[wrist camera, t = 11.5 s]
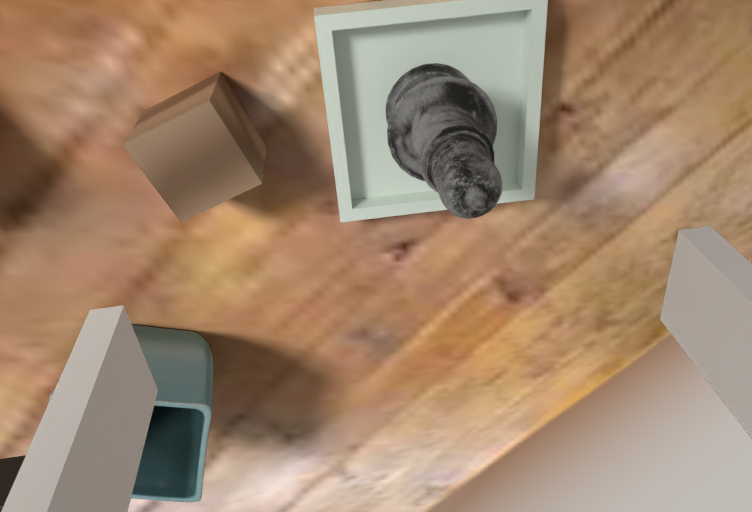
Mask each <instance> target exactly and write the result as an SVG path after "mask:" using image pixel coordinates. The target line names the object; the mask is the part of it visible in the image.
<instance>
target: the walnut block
mask: <svg viewBox="0 0 752 512" xmlns="http://www.w3.org/2000/svg"><path fill="white" fill-rule="evenodd" d="M123 146H124V147H125V149H126V150H127V151H128V153H129V154H130V155H131V157H132V158H133V159H134V161H135V162H136V163H137V165H138V166H139V167H140V169H141V170H142V171H143V173H144V174H145V175H146V177H147V178H148V179H149V181H150V182H151V183H152V185H153V186H154V187H155V189H156V190H157V191H158V193H159V194H160V195H161V196H162V198H163V199H164V200H165V202H166V203H167V204H168V206H169V207H170V208H171V210H172V211H173V212H174V214H175V215H176V216H177V218H178V219H179V220H180V222H183V221H185V220H187V219H189V218H191V217H193V216H195V215H198V214H200V213H202V212H204V211H206V210H208V209H210V208H212V207H214V206H216V205H219V204H221V203H223V202H225V201H227V200H229V199H231V198H233V197H235V196H237V195H240V194H242V193H244V192H246V191H248V190H250V189H252V188H254V187H256V186H259V185H261V184H262V182H263V174H264V166H265V159H266V151H267V146H266V145H265V143H264V142H263V140H262V138H261V137H260V135H259V133H258V132H257V130H256V128H255V127H254V125H253V123H252V122H251V120H250V119H249V117H248V115H247V114H246V112H245V110H244V109H243V107H242V105H241V104H240V102H239V101H238V99H237V97H236V96H235V94H234V92H233V91H232V89H231V87H230V86H229V84H228V82H227V81H226V79H225V78H224V76H223V74H222V73H221V72H219V73H217V74H215V75H213V76H211V77H209V78H207V79H205V80H203V81H201V82H200V83H198V84H196V85H194V86H192V87H190V88H188V89H186V90H184V91H182V92H180V93H178V94H176V95H174V96H172V97H170V98H168V99H166V100H164V101H163V102H161V103H159V104H157V105H155V106H153V107H151V108H149V109H147V110H145V111H144V112H143V113H142V115H141V117H140V118H139V120H138V121H137V123H136V124H135V126H134V128H133V129H132V131H131V132H130V134H129V135H128V137H127V139H126V140H125V142H124V143H123Z"/></svg>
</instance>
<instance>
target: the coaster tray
mask: <svg viewBox="0 0 752 512" xmlns="http://www.w3.org/2000/svg"><path fill="white" fill-rule="evenodd" d="M547 6H548V0H384V1H374V2H365V3H355V4H346V5H336V6H327V7H317V8H314V20H315V27H316V35H317V43H318V51H319V58H320V66H321V74H322V82H323V89H324V97H325V105H326V113H327V120H328V128H329V136H330V144H331V151H332V159H333V167H334V175H335V182H336V190H337V198H338V206H339V214H340V221H341V222H348V221H356V220H365V219H373V218H382V217H390V216H399V215H407V214H415V213H424V212H432V211H441V210H448V209H447V208H446V207H445V206H444V204H443V203H442V201H441V199H440V196H439V194H438V192H436V191H434V190H433V189H432V188H431V187H429V186H428V184H427V183H426V181H421V180H419V179H417V178H414V177H412V176H410V175H409V174H407V173H406V172H405V171H404V170H402V169H401V168H400V167H399V166H398V164H397V163H396V161H395V160H394V159H393V157H392V154H391V151H390V149H389V146H388V137H387V128H388V124H387V121H386V109H385V108H386V103H387V98H388V95H389V93H390V91H391V89H392V87H393V85H394V84H395V83H396V82H397V81H398V80H399V78H400V77H401V76H402V75H404V74H405V73H407V72H408V71H410V70H411V69H413V68H415V67H418V66H421V65H424V64H433V63H439V64H444V65H449V66H451V67H453V68H455V69H457V70H459V71H460V72H461V73H462V74H463V75H464V76H465V77H467V78H468V80H469V81H470V82H472V83H474V84H476V85H477V86H478V87H480V88H481V89H482V90H483V91H484V92H485V93H486V94H487V95H488V97H489V99H490V100H491V102H492V104H493V106H494V108H495V112H496V116H497V135H496V138H495V141H494V144H493V150H494V154H495V155H494V164H495V166H496V167H497V169H498V171H499V172H500V175H501V179H502V193H501V196H500V199H499V201H498V202H497V204H500V203H508V202H517V201H525V200H533V199H535V185H536V170H537V155H538V140H539V125H540V110H541V95H542V80H543V65H544V50H545V35H546V20H547Z"/></svg>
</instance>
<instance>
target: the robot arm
mask: <svg viewBox="0 0 752 512" xmlns="http://www.w3.org/2000/svg"><path fill="white" fill-rule="evenodd" d="M660 320H661V321H662V323H663V324H664V325H665V326H666V328H667V329H668V330H669V332H670V333H671V334H672V336H673V337H674V338H675V339H676V341H677V342H678V343H679V345H680V346H681V347H682V348H683V350H684V351H685V353H686V354H687V355H688V356H689V358H690V359H691V360H692V362H693V363H694V364H695V365H696V367H697V368H698V369H699V371H700V372H701V373H702V375H703V376H704V377H705V379H706V380H707V381H708V383H709V384H710V385H711V386H712V388H713V389H714V390H715V392H716V393H717V394H718V395H719V397H720V398H721V399H722V401H723V402H724V403H725V405H726V406H727V407H728V409H729V410H730V411H731V413H732V414H733V415H734V416H735V418H736V419H737V420H738V422H739V423H740V424H741V426H742V427H743V428H744V429H745V431H746V432H747V433H748V435H749V436H750V437H751V439H752V264H751V263H750V262H749V261H748V260H747V259H746V258H745V257H744V256H743V255H742V254H740V253H739V252H738V251H737V250H736V249H735V248H734V247H733V246H732V245H731V244H730V243H729V242H727V241H726V240H725V239H724V238H723V237H722V236H721V235H720V234H719V233H718V232H717V231H716V230H714V229H713V228H712V227H711V226H704V227H697V228H690V229H682V230H679V233H678V237H677V242H676V246H675V251H674V256H673V260H672V265H671V269H670V274H669V279H668V283H667V288H666V292H665V297H664V302H663V306H662V311H661V315H660ZM157 392H158V389H157V386H156V384H155V381H154V379H153V376H152V374H151V371H150V369H149V366H148V364H147V362H146V359H145V357H144V354H143V352H142V349H141V347H140V344H139V342H138V339H137V337H136V334H135V332H134V330H133V327H132V325H131V322H130V320H129V317H128V315H127V312H126V310H125V307H124V306H117V307H109V308H102V309H95V310H90V311H89V314H88V316H87V318H86V321H85V323H84V325H83V327H82V330H81V332H80V334H79V336H78V339H77V341H76V343H75V345H74V348H73V350H72V352H71V355H70V357H69V359H68V361H67V364H66V366H65V368H64V370H63V373H62V375H61V377H60V379H59V382H58V384H57V386H56V388H55V391H54V393H53V395H52V398H51V400H50V402H49V404H48V407H47V409H46V411H45V413H44V416H43V418H42V420H41V422H40V425H39V427H38V429H37V432H36V434H35V436H34V438H33V441H32V443H31V445H30V447H29V450H28V452H27V454H26V456H19V457H12V458H5V459H0V512H127V511H128V507H129V503H130V499H131V495H132V491H133V488H134V484H135V480H136V476H137V472H138V468H139V464H140V460H141V456H142V452H143V448H144V444H145V440H146V436H147V432H148V428H149V424H150V420H151V416H152V412H153V408H154V404H155V400H156V396H157Z"/></svg>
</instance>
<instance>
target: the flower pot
mask: <svg viewBox="0 0 752 512" xmlns="http://www.w3.org/2000/svg"><path fill="white" fill-rule="evenodd" d="M132 327H133V330H134V332H135V334H136V337H137V339H138V342H139V344H140V347H141V349H142V352H143V354H144V357H145V359H146V362H147V364H148V366H149V369H150V371H151V374H152V376H153V379H154V381H155V384H156V386H157V389H158V392H157V396H156V400H155V404H154V408H153V412H152V416H151V420H150V424H149V428H148V432H147V436H146V440H145V444H144V448H143V452H142V456H141V460H140V464H139V468H138V472H137V476H136V480H135V484H134V488H133V491H132V495H131V498H137V499H149V500H161V501H174V502H196V501H200V500H201V497H202V487H203V476H204V467H205V458H206V451H207V444H208V437H209V430H210V424H211V418H212V403H213V379H214V361H213V355H212V352H211V349H210V347H209V345H208V343H207V342H206V341H205V340H204V338H202V337H201V336H200V335H199V334H198V333H196V332H192V331H184V330H175V329H164V328H156V327H148V326H139V325H132ZM54 391H55V389H54ZM54 391H53V392H52V394H51V395H50V398H49V402H50V400H51V398H52V395H53V393H54Z"/></svg>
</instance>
